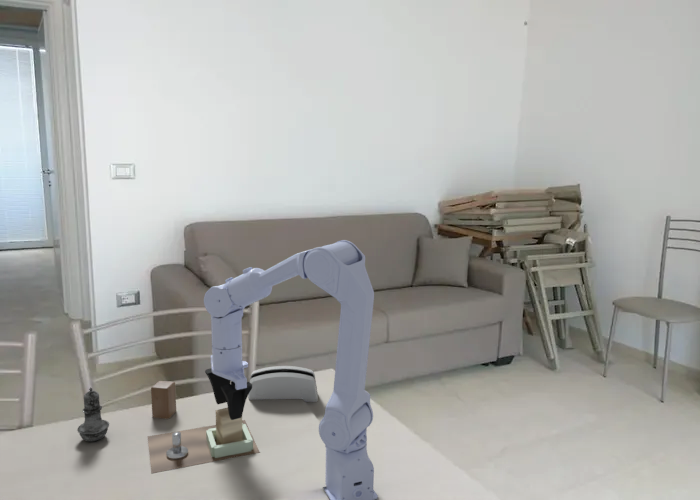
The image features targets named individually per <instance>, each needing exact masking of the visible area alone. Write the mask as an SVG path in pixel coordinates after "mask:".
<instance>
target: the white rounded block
mask: <svg viewBox="0 0 700 500" xmlns="http://www.w3.org/2000/svg"><path fill="white" fill-rule="evenodd" d="M249 382H250V383H251V384H252V389H251V391H250V392H249V394H248V396H247V399H248V400H249V401H250V400H252V401H253V400H256V401H257V400H290V399H291V400H292V399H293V400H294V399H296V400H297V399H298V400H299V399H302V400H303V402H305V403H307V402H309V403H310V402H312V403H313V402H318V399H319V397H318V390H317V389H318V388H317V387H318V386H317V381H316V375H315V372H314V370H312V369H310V368H306V367H301V366H295V365H293V366H292V365H278V366H277V365H276V366H269V367H268V366H267V367H263V368H262V367H261V368H259V369H254V370H253V371H252V372H251V374H250V378H249Z"/></svg>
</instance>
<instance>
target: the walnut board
mask: <svg viewBox="0 0 700 500" xmlns="http://www.w3.org/2000/svg"><path fill="white" fill-rule="evenodd" d="M242 423H243V424H246V426H247V428H248V430H249V433H250V435H251V437H252V439H253V450H251V451H250V452H245V453H239V454H234V455H229V456H224V457H218V458H215V457H212V456H211V453H210V450H209V447H208V443H207V440H206V431H207V430H208V429H211V428H216V424H213V425H207V426H201V427H196V428H190V429H183V430H179V431H176V432H181V446H183V447H186V448H187V449H188V455H187V456H186V457H184V458H182V459H178V460H171V459H168V458H167V456H166V452H167V451H168V450H169V449H170V448H173V442H172V433H174V432H175V431H172V432H166V433H161V434H160V433H159V434H154V435H148V436H147V442H148V443H147V444H148V453H149V454H148V456H149V462H150V463H149V465H150V471H151V472H150V473H151V474H156V473H161V472H166V471H171V470H177V469H182V468H186V467H192V466H197V465H203V464H208V463H213V462H218V461H222V460H228V459H235V458H238V457H243V456H249V455H250V456H251V455H254V454H260V453H261V452H260V449H259V447H258V445H257V443H256V441H255V439H254V437H253V435H252V432H251V430H250V428H249V426H248V424H247V421H246V420H245V419H242ZM243 441H244V440H243ZM215 443H216V439H215ZM216 445H218V444H217V443H216Z"/></svg>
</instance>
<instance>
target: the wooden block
mask: <svg viewBox="0 0 700 500" xmlns="http://www.w3.org/2000/svg"><path fill="white" fill-rule="evenodd" d="M150 394H151V396H150V397H151V412H152V413H151V414H152V415H151V416H152V418H155V419H163V420H164V419H166V420H168V419H171V418H172V417H173V416H174V415H175V413H176V412H177V401H176V400H177V397H176V396H177V395H176V394H177V393H176V381H169V380H158V381H157V382H156V383H155V384H153V385H152V386H151V387H150Z"/></svg>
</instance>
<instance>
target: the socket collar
mask: <svg viewBox="0 0 700 500" xmlns="http://www.w3.org/2000/svg"><path fill="white" fill-rule="evenodd" d="M246 424H247V423H246ZM246 424H243V423H242V435H243V440H244V441H238V442H233V443H227V444H222V445H216V443H215V439H216V428H211V429H208V430H207V431H206V440H207V443H208V447H209V450H210V453H211V456H212V457H215V458H218V457H224V456H229V455H234V454H239V453H245V452H250V451H251V450H253V439H254V438H253V439H252V437H251V435H250V433H249V430H250V429H249V430H248V428H249V427H248V428H247V426H248V425H247V426H246Z"/></svg>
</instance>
